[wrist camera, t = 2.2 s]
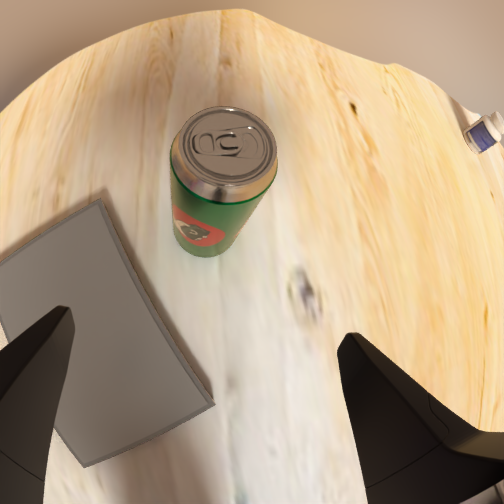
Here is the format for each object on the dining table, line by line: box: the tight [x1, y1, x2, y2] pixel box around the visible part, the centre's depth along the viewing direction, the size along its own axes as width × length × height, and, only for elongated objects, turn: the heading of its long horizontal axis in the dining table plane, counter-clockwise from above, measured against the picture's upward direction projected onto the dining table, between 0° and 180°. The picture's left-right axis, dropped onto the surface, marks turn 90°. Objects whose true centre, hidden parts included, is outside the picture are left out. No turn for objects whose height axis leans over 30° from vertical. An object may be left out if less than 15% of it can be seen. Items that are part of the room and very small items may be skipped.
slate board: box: [0, 198, 216, 468], centre depth 18 cm, size 18×13×1 cm
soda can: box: [170, 106, 278, 258], centre depth 17 cm, size 5×5×12 cm
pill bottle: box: [463, 112, 504, 154], centre depth 34 cm, size 5×5×9 cm
